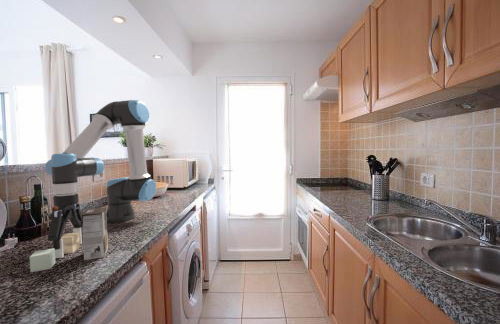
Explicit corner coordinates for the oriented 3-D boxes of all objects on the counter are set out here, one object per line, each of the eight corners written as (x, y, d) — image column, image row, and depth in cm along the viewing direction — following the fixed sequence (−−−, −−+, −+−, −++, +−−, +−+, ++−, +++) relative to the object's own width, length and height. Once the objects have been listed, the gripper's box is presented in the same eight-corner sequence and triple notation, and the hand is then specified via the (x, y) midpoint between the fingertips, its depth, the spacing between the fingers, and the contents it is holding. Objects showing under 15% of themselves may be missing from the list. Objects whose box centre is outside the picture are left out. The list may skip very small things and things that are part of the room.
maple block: (65, 249, 93) (64, 233, 92) (79, 247, 94) (79, 232, 93) (57, 254, 88) (56, 238, 87) (72, 252, 89) (72, 237, 88)
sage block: (36, 265, 79) (35, 251, 79) (55, 262, 81) (54, 248, 81) (30, 272, 74) (29, 256, 74) (50, 268, 77) (49, 253, 76)
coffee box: (89, 251, 90) (86, 208, 89) (108, 247, 92) (106, 206, 92) (83, 260, 82) (80, 214, 81) (105, 257, 84) (102, 212, 83)
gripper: (72, 189, 101) (75, 239, 102) (31, 201, 77) (35, 266, 78) (91, 189, 102) (94, 238, 103) (57, 199, 78) (61, 263, 79)
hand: (69, 250), depth 91 cm, fingers open, 12 cm apart
